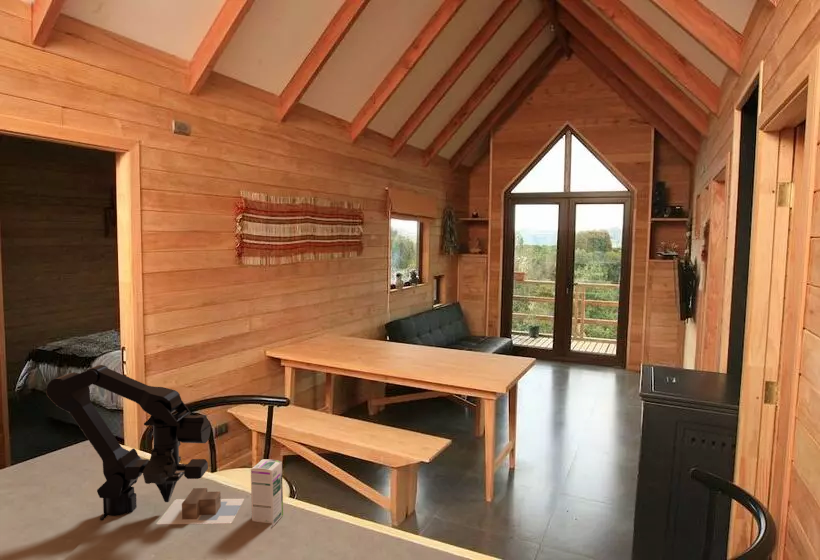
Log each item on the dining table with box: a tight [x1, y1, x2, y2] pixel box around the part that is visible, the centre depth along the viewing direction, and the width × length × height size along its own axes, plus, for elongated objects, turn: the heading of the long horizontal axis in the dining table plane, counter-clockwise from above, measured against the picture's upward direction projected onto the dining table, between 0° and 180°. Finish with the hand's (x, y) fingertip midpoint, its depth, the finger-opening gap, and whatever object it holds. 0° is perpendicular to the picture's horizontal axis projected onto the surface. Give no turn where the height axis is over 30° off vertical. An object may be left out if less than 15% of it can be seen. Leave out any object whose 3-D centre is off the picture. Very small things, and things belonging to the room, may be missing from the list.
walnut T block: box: [182, 487, 222, 520], centre depth 132 cm, size 8×8×4 cm
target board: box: [155, 498, 245, 525], centre depth 132 cm, size 18×12×1 cm, turn 93°
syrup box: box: [250, 459, 284, 528], centre depth 130 cm, size 6×6×14 cm
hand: (167, 501), depth 132 cm, fingers closed
